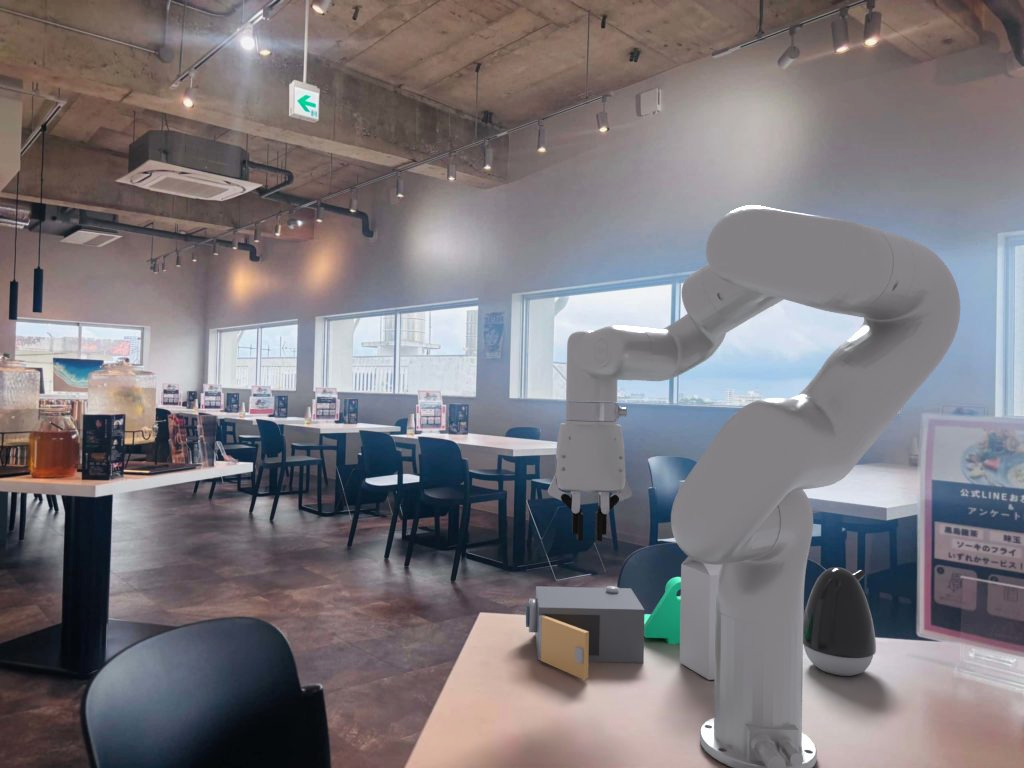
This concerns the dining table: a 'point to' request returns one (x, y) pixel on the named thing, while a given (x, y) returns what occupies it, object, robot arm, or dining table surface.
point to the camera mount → (666, 615)
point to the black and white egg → (839, 624)
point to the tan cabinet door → (563, 646)
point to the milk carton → (698, 616)
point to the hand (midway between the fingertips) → (588, 538)
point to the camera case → (595, 619)
